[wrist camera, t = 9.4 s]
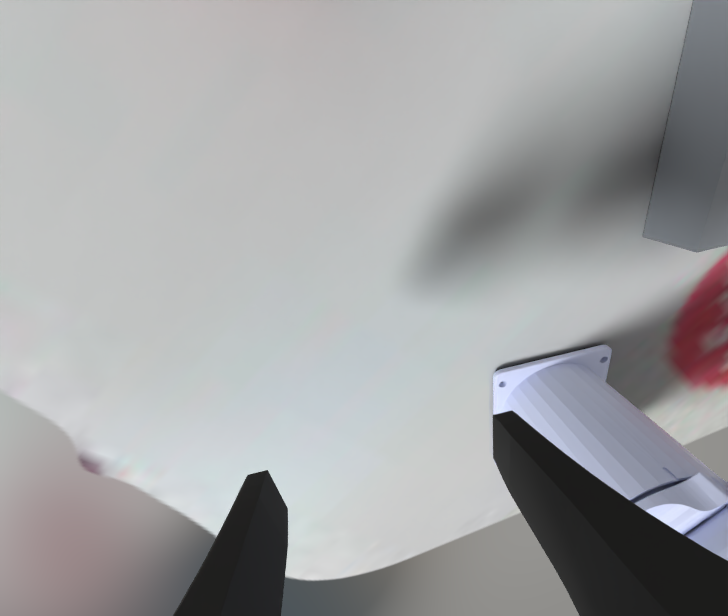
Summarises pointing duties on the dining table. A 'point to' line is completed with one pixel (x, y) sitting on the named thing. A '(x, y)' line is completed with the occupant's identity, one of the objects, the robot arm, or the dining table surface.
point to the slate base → (696, 140)
